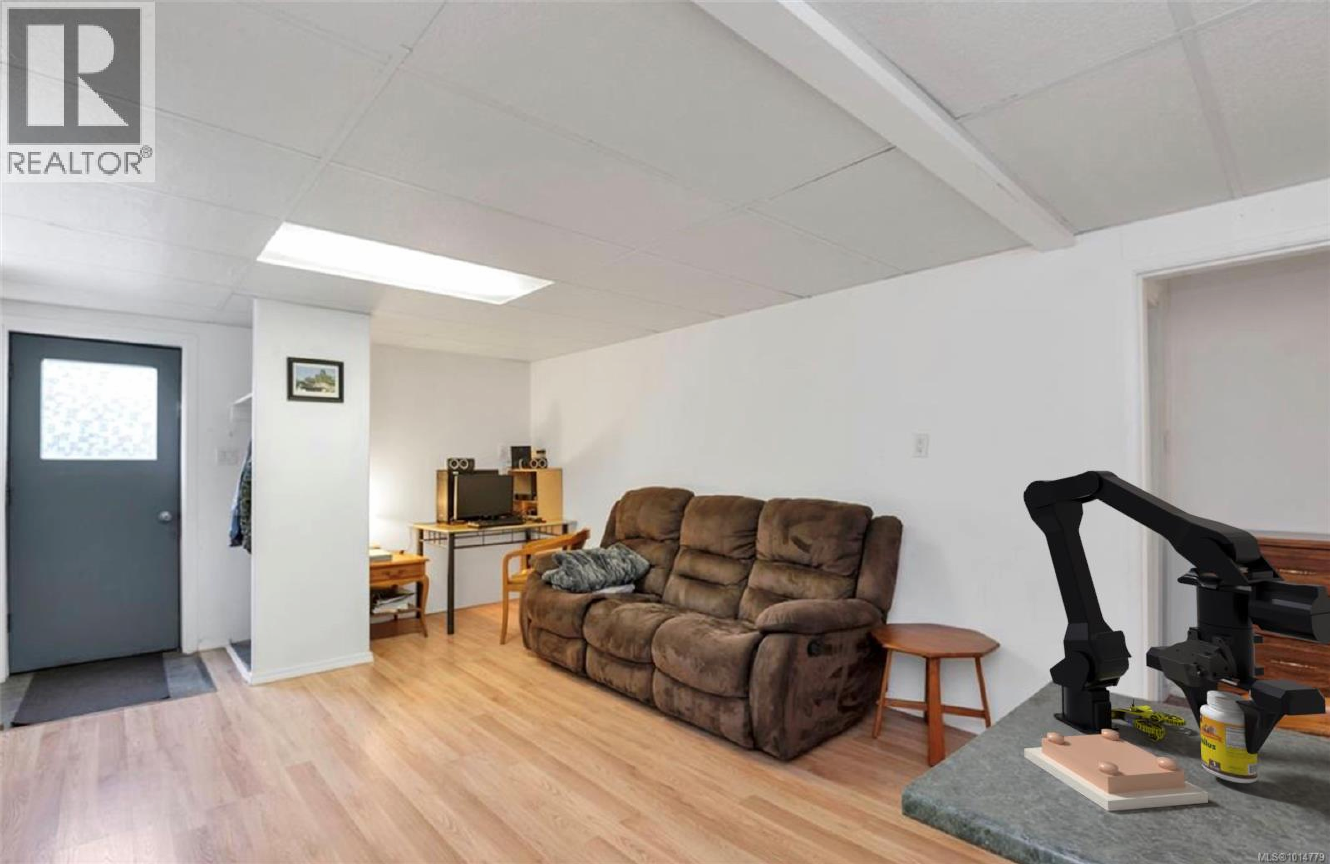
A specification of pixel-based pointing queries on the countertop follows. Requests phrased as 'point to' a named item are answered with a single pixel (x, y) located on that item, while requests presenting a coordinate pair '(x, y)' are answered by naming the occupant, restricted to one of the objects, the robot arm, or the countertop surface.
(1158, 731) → the toy motorcycle
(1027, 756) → the tower base
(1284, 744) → the countertop surface
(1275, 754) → the countertop surface
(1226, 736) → the supplement bottle
